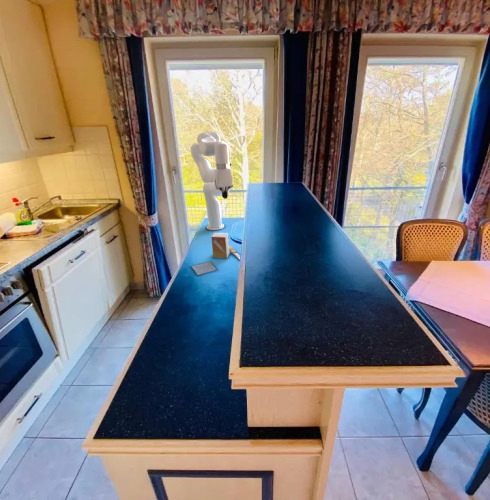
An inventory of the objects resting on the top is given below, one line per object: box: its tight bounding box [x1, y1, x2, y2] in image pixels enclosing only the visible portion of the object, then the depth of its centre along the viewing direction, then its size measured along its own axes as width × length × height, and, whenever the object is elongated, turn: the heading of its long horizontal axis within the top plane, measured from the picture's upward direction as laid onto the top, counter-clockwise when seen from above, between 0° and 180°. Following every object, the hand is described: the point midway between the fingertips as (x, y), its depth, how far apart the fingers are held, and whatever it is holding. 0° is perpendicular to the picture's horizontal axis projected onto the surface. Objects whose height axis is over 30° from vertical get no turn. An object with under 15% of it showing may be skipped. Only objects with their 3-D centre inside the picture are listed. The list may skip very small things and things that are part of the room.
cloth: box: [191, 261, 217, 276], centre depth 146 cm, size 10×10×1 cm
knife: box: [229, 245, 241, 261], centre depth 159 cm, size 17×2×2 cm, turn 28°
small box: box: [210, 232, 231, 259], centre depth 156 cm, size 8×6×13 cm
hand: (225, 198), depth 165 cm, fingers closed
